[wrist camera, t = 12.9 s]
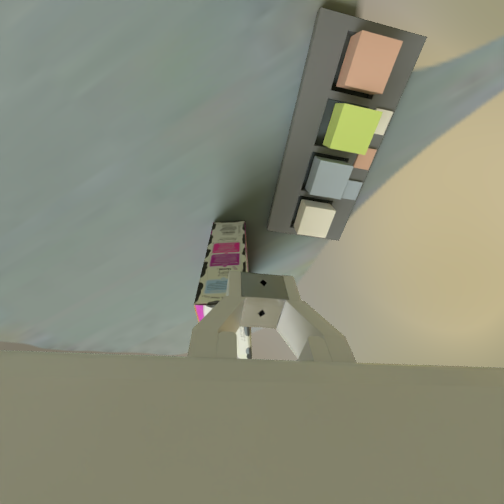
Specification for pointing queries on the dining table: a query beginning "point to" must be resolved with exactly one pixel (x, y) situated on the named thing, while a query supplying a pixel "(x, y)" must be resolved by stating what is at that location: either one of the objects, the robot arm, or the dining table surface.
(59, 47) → the dining table surface
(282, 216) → the keypad board
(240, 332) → the candy bar box
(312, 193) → the key slate
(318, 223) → the key ivory
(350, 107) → the lime green cube
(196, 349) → the robot arm
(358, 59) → the salmon cube
